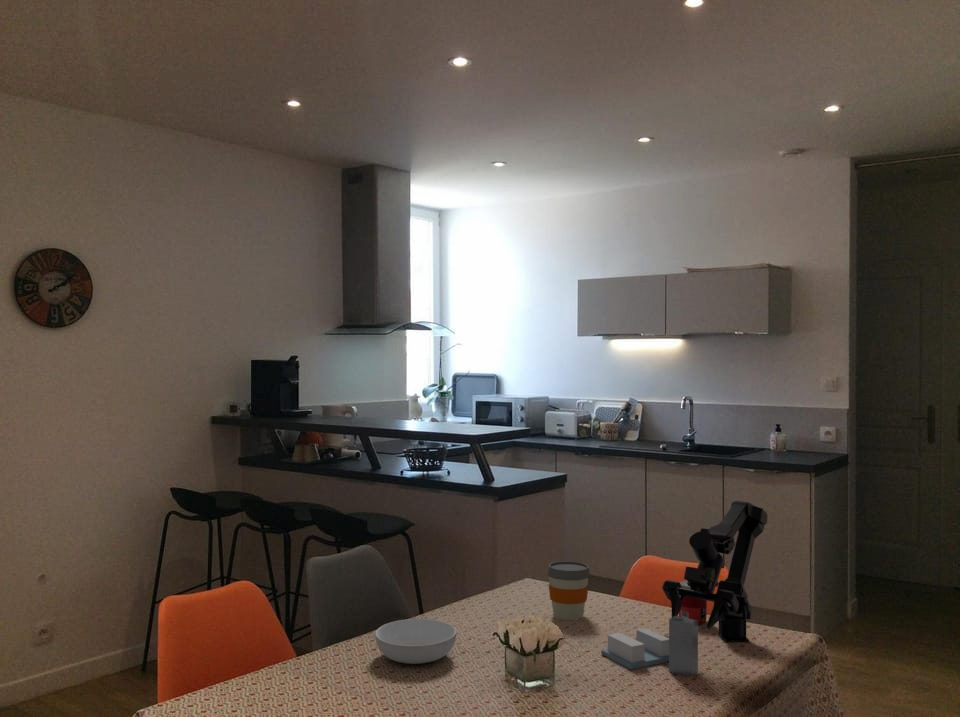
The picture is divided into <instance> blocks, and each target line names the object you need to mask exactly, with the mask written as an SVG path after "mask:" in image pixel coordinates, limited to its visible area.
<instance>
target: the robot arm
mask: <svg viewBox="0 0 960 717" xmlns="http://www.w3.org/2000/svg"><path fill="white" fill-rule="evenodd" d="M767 523H768V513H767V511H765V510H764V508H763V507H759V506H756V505H754V504H753V503H751V502H749V501H741V500H740V501H739V500H735V501H732V502H731V505H730V509H728V511H727V512H726V514H725V515H724V516H723V518H721V521H720V522H719V523H718V524H717V525H713V526H711V527H709V528H703V527H701V528H700V531H697V532H695V533H693V534H692V535H691V536H690V537H689V540H688V542H689V545H690V547H691V551H692V552H693V553H694V556H695V557H696V559H697V560H698V561H699V562H698V565H697V567H693V566H685V570H684V575H683V580H684V581H688V582H687V584H688V586H690V589H686V588H682V586H681V584H680V582H681V581H675V580H670V579H666V580H665V581H663V584H662V586H661V589H662V591H663V593H664V595H665V597H666V598H667V600H669V601H670V604H671V606H670V607H671V618H672V617H674V616H679V611H680V609H681V607H682V602H681V601H682V600H683V598H684V596H686V597H691V598H697V599H702V600H707V602H713V607H712V609H711V613H710V615H709V618H708V620H707V625H706V629H707V630H710V629H712V628H713V627H714V625H716V624H717V623H718V632H717V634H718V635H717V636H719V637H720V638H721V639H723V640H724V641H725V642H749V640H750V639H749V638H748V637H747V620H751V619H752V614H753V609H752V607H751V604H750V602H749V599H748V598H749V597H748V596H749V595H748V593H747V590H746V587H745V582H746V578H747V574H748V570H749V565H750V561H751V557H752V554H753V548H754V544H755V540H756V539H757V538H758V537H759V536H760V535H761V534H762V533H763V531H764V528H765V525H767ZM737 532H738V533H737ZM736 534H737V537H736V542H735V539H734V538H735V535H736ZM732 551H733V554H732V558H731V560H730V565H729V569H728V573H727V577H726V578H725V579H724V580H719V577H720V574H721V571H722V569H724V568H725V563H724V558H723V556H722V555H721V554H723V555H730V554H731V552H732ZM718 580H719V581H718ZM716 587H717V589H715V588H716ZM715 590H716V592H714V591H715Z"/></svg>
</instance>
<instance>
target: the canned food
mask: <svg viewBox="0 0 960 717" xmlns="http://www.w3.org/2000/svg"><path fill="white" fill-rule="evenodd" d="M679 582H680V584H681V586H682V588H686V589H690V586H688V584H687V582H688V581H687V580H682V581H679ZM681 602H682V607H681V609H680V611H679V614H678V616H679V617H684V618H688V619H693V620H698V624H699V625H703V624H706V622H707V613H708V612H707V611H708V609H707V608H708V607H707V603H708V601H707V600H702V599H697V598H691V597H686V596H684V598H683V600H682V601H681Z"/></svg>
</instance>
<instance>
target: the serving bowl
mask: <svg viewBox="0 0 960 717" xmlns="http://www.w3.org/2000/svg"><path fill="white" fill-rule="evenodd" d="M374 635H375V636H374V637H375V642H376V645H377V648H378V650H379V651H380V653H382V655H384V656H385V657H386V658H387V659H389V660H392V661H394V662H397V663H403V664H409V665H410V664H411V665H413V664H414V665H420V664H426V663H431V662H432V663H433V662H435V661H438V660H440V659H442V658H443V657H445V656H446V655H448V653H449V652H450V651H451V650H452V649H453V647H454V645H455V643H456V640H457V639H456V638H457V629H456V627H454V626H453V625H452V624H450V623H448V622H445V621H440V620H437V619H436V620H435V619H428V618H410V619H409V618H408V619H399V620H394V621H391V622H388V623H385V624H383V625H380V627H378V628H377V629H376V630H375V632H374Z"/></svg>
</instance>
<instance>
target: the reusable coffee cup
mask: <svg viewBox="0 0 960 717" xmlns="http://www.w3.org/2000/svg"><path fill="white" fill-rule="evenodd" d="M547 567H548V568H547V569H548V570H547V576H548V577H549V578H548V580H549V582H548V590H549V591H548V592H549V600H551V605H552V613H553V617H554V618H555V619H558V620H562V621H577V620H576V619H579V620H581V619H583V618H584V612H585V604H586V602H587V600H588V594H589V593H588V592H589V584H588V583H589V578H590V576H591V575H590V567H589V565H588V564H587V563H584V562H580V561H579V562H578V561H573V560H572V561H571V560H569V561H567V560H561V561H554V562H550V563H549V564H548V566H547ZM582 617H583V618H582ZM580 618H581V619H580Z"/></svg>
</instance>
